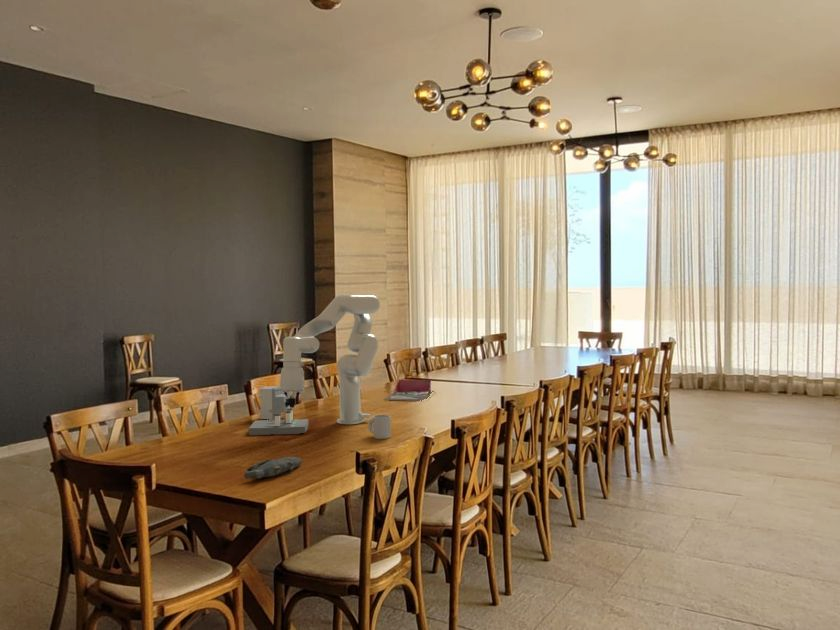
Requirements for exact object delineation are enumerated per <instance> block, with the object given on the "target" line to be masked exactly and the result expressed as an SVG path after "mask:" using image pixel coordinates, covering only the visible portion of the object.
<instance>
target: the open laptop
mask: <svg viewBox="0 0 840 630" xmlns="http://www.w3.org/2000/svg"><path fill="white" fill-rule="evenodd" d="M431 381H432V380H431V379H418V380H417V379H398V380H397V383H396V385H395V388H394V389H393V392H392V393H391V394H389V395H388V396H386V398H384V399H383V400H389V401H388V402H417V401H420V400H421V401H422V400H424V399H427V398H428V397H429V396H430V394H431V393H432V392H434V391H435V390H432V388H431V387H432V386H431V385H432V382H431ZM431 391H432V392H431Z"/></svg>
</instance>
